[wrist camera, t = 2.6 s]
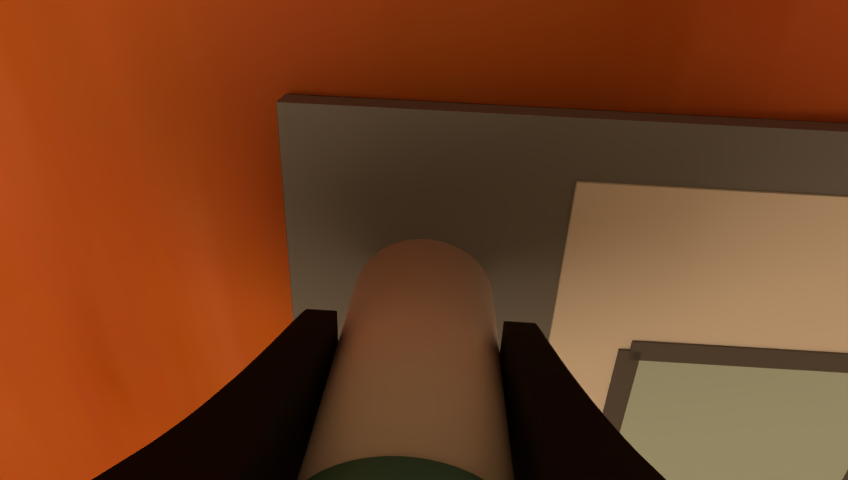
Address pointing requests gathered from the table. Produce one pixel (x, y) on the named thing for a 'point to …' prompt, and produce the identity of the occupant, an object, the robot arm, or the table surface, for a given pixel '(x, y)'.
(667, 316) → the colouring board
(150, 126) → the table surface
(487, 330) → the marker
